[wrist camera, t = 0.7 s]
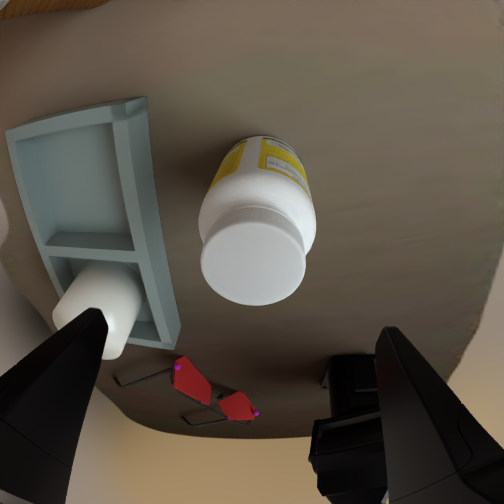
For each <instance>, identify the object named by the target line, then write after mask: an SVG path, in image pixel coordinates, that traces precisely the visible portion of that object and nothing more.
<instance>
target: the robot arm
mask: <svg viewBox="0 0 504 504" xmlns="http://www.w3.org/2000/svg"><path fill="white" fill-rule="evenodd" d="M108 330H109V327H108V323H107V321H106V319H105V317H104V315H103V312H102V310H101V309H99V308H94V307H89V308H88V309H86V310H85V311H83V312H82V313H81V314H79V315H78V316H77V317H75V318H74V319H73V320H71V321H70V322H69V323H67V324H66V325H65V326H64V327H62V328H61V329H60V330H58V331H57V332H56V333H54V334H53V335H52V336H51V337H49V338H48V339H47V340H45V341H44V342H43V343H42V344H40V345H39V346H38V347H37V348H35V349H34V350H33V351H32V352H30V353H29V354H28V355H27V356H25V357H24V358H23V359H22V360H20V361H19V362H18V363H17V365H14V366H13V367H12V368H11V369H9V370H8V371H7V372H6V373H4V374H3V375H2V376H1V377H0V504H65V501H66V495H67V490H68V485H69V480H70V475H71V470H72V465H73V461H74V457H75V452H76V448H77V444H78V440H79V436H80V432H81V428H82V425H83V421H84V418H85V414H86V410H87V407H88V404H89V400H90V397H91V394H92V391H93V388H94V385H95V381H96V378H97V375H98V372H99V369H100V365H101V360H102V356H103V352H104V347H105V343H106V339H107V335H108ZM375 354H376V356H335V357H332V358H330V361H329V363H328V366H327V369H326V371H325V374H324V377H323V379H322V382H321V384H320V385H321V389H329V394H330V407H331V418H327V419H322V420H320V419H318V420H315V421H314V427H313V431H312V439H311V447H310V454H309V457H308V461H309V462H310V463H311V464H312V467H313V470H314V472H315V473H316V474H317V488H318V490H319V492H320V493H321V495H322V496H326V497H327V499H328V500H329V501H330V502H331V504H386V500H387V499H388V497H389V504H504V449H503V448H502V447H501V446H500V445H499V444H498V443H497V442H496V441H495V440H494V439H493V437H492V436H491V435H489V433H488V432H487V431H486V430H485V429H484V428H483V427H482V426H481V425H480V424H479V423H478V421H477V420H476V419H475V418H474V417H473V416H472V414H471V413H470V412H469V411H468V409H467V408H466V407H465V406H464V404H461V401H460V400H459V398H458V397H457V396H456V395H455V394H454V392H453V391H452V390H451V389H450V387H449V386H448V385H447V384H446V383H445V381H444V380H443V379H442V378H441V377H440V376H439V374H438V373H437V372H436V371H435V370H434V368H433V367H432V366H431V365H430V364H429V363H428V362H427V360H426V359H425V358H424V357H423V356H422V355H421V353H420V352H419V351H418V350H417V349H416V348H415V347H414V346H413V344H412V343H411V342H410V341H409V340H408V339H407V338H406V337H405V335H404V334H403V333H402V332H401V331H400V330H399V329H398V328H397V327H395V326H390V327H384V328H383V329H382V331H381V334H380V336H379V338H378V340H377V342H376V346H375Z"/></svg>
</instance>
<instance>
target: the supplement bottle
mask: <svg viewBox="0 0 504 504" xmlns="http://www.w3.org/2000/svg"><path fill="white" fill-rule="evenodd" d="M199 232H200V236H201V239H202V242H203V244H204V246H203V249H202V253H201V260H200V262H201V269H202V273H203V275H204V278H205V279H206V281H207V283H208V284H209V285H210V286H211V287H212V289H213V290H214V291H216V292H217V293H218V294H220V295H221V296H223V297H224V298H226V299H228V300H230V301H233V302H236V303H240V304H244V305H267V304H271V303H275V302H278V301H280V300H282V299H284V298H286V297H287V296H289V295H290V294H292V293H293V292H294V291H295V290H296V289H297V287H298V286H299V285H300V283H301V281H302V279H303V277H304V273H305V267H306V261H305V256H306V254H307V253H308V252H309V250H310V248H311V246H312V244H313V241H314V238H315V233H316V219H315V212H314V207H313V203H312V199H311V195H310V191H309V186H308V183H307V179H306V175H305V171H304V167H303V164H302V162H301V160H300V158H299V156H298V155H297V153H296V152H295V151H294V150H293V149H292V148H291V147H290V146H289V145H288V144H286V143H285V142H283V141H281V140H279V139H276V138H273V137H268V136H255V137H250V138H247V139H245V140H242V141H241V142H239V143H237V144H236V145H235V146H233V147H232V148H231V149H230V150H229V152H228V153H227V154H226V156H225V157H224V159H223V161H222V163H221V165H220V167H219V169H218V171H217V173H216V175H215V177H214V180H213V182H212V184H211V186H210V188H209V190H208V192H207V194H206V196H205V198H204V200H203V203H202V206H201V209H200V213H199Z"/></svg>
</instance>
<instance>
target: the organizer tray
mask: <svg viewBox="0 0 504 504" xmlns="http://www.w3.org/2000/svg"><path fill="white" fill-rule="evenodd" d="M5 134H6V140H7V145H8V150H9V155H10V159H11V164H12V168H13V172H14V176H15V180H16V184H17V187H18V191H19V194H20V198H21V201H22V204H23V208H24V211H25V214H26V217H27V220H28V223H29V226H30V229H31V231H32V234H33V237H34V240H35V242H36V245H37V247H38V250H39V253H40V255H41V258H42V260H43V262H44V265H45V267H46V269H47V272H48V274H49V276H50V279H51V281H52V283H53V285H54V287H55V290H56V292H57V294H58V296H59V298H60V300H61V298H62V297H63V295H64V294H65V292H66V291H67V290H68V288H69V287H70V285H71V284H72V282H73V281H74V280H75V278H76V277H77V275H78V274H79V273H80V271H81V270H82V269H83V267H84V266H85V265H86V263H87V262H88V261H89V260H90V259H95V260H107V261H120V262H123V263H125V264H126V265H128V266H129V267H130V268H131V269H133V270H134V271H135V272H136V273H137V275H138V276H139V277H140V279H141V280H142V282H143V284H144V287H145V291H146V297H145V301H144V303H143V305H142V307H141V309H140V312H139V314H138V316H137V318H136V321H135V323H134V325H133V327H132V330H131V332H130V334H129V336H128V339H127V341H126V343H131V344H137V345H143V346H149V347H156V348H162V349H169V350H174V348H175V345H176V341H177V338H178V335H179V332H180V329H181V323H180V319H179V314H178V310H177V305H176V301H175V296H174V291H173V287H172V282H171V277H170V272H169V267H168V261H167V256H166V250H165V245H164V239H163V233H162V227H161V221H160V215H159V208H158V201H157V194H156V187H155V179H154V171H153V163H152V154H151V145H150V135H149V124H148V112H147V98H146V96H145V97H137V98H130V99H123V100H117V101H111V102H105V103H99V104H94V105H89V106H84V107H79V108H75V109H70V110H66V111H62V112H58V113H54V114H50V115H46V116H43V117H39V118H36V119H32V120H29V121H27V122H24V123H22V124H20V125H17V126H15V127H13V128H11V129H9V130H7V131H5Z"/></svg>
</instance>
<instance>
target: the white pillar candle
mask: <svg viewBox="0 0 504 504" xmlns="http://www.w3.org/2000/svg"><path fill="white" fill-rule="evenodd" d="M145 297H146V291H145V287H144V284H143V282H142V280H141V279H140V277H139V276H138V275H137V273H136V272H135V271H134V270H133V269H131V268H130V267H129V266H128V265H126V264H125V263H123V262H120V261H107V260H95V259H90V260H89V261H88V262H87V263H86V265H85V266H84V267H83V269H82V270H81V271H80V273H79V274H78V275H77V277H76V278H75V280H74V281H73V282H72V284H71V285H70V287H69V288H68V290H67V291H66V292H65V294H64V295H63V297H62V298H61V300H60V301H59V303H58V304H57V306H56V307H55V309H54V310H53V321H54V324H55V326H56V328H57V329H58V330H60V329H61V328H62V327H64V326H65V325H66V324H67V323H69V322H70V321H71V320H73V319H74V318H75V317H77V316H78V315H79V314H81V313H82V312H83V311H85V310H86V309H88V308H89V307H94V308H99V309H101V310H102V312H103V315H104V317H105V319H106V321H107V323H108V327H109V330H108V335H107V339H106V343H105V347H104V352H103V356H102V359H115V358H117V357H119V356H120V355H121V353H122V350H123V348H124V346H125V343H126V341H127V339H128V336H129V334H130V332H131V330H132V327H133V325H134V323H135V321H136V318H137V316H138V314H139V312H140V309H141V307H142V305H143V303H144V301H145Z"/></svg>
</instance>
